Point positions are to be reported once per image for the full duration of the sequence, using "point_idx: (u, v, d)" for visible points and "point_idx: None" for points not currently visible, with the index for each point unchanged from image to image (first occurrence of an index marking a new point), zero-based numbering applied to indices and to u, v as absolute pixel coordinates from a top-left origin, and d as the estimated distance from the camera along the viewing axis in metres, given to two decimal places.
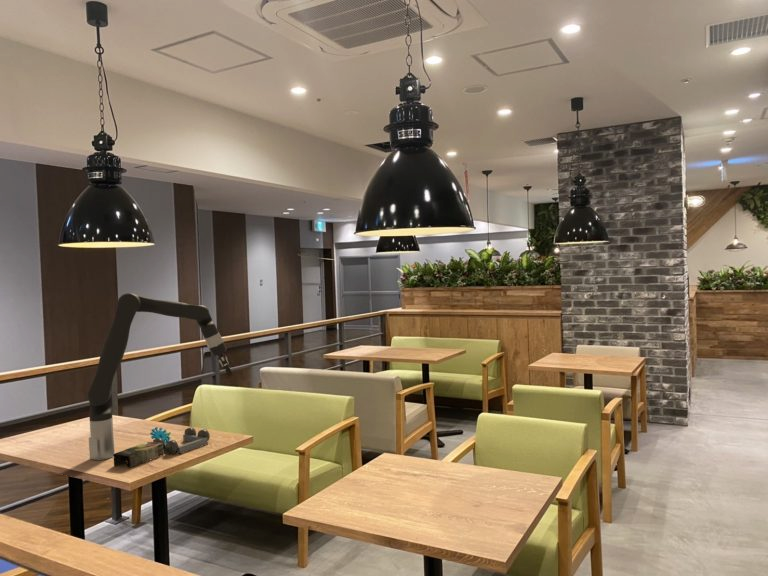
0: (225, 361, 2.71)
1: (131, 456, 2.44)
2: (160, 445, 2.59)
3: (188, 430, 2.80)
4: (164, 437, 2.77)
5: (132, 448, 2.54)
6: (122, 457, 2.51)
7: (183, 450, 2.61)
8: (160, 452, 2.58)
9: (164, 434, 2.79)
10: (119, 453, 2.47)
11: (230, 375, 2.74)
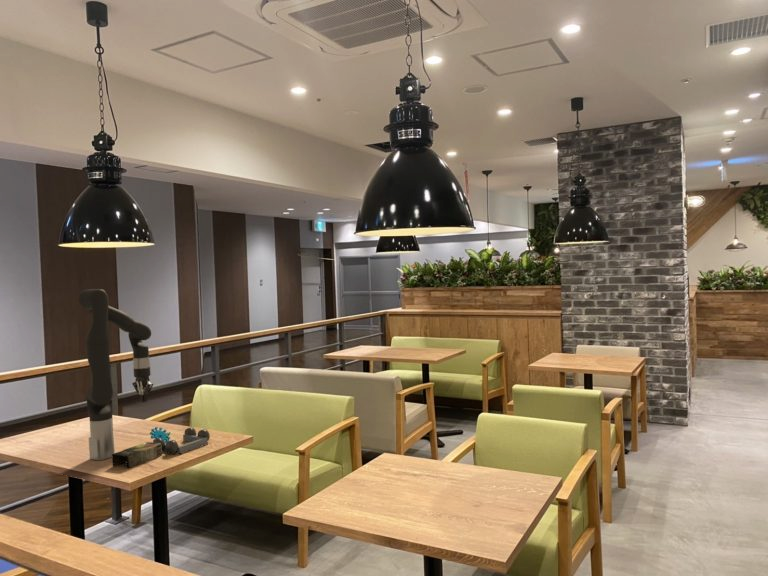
0: (150, 388, 2.81)
1: (130, 456, 2.44)
2: (159, 445, 2.58)
3: (188, 430, 2.80)
4: (164, 437, 2.78)
5: (131, 448, 2.53)
6: (121, 457, 2.51)
7: (183, 450, 2.61)
8: (159, 452, 2.58)
9: (164, 434, 2.79)
10: (118, 453, 2.46)
11: (144, 401, 2.82)
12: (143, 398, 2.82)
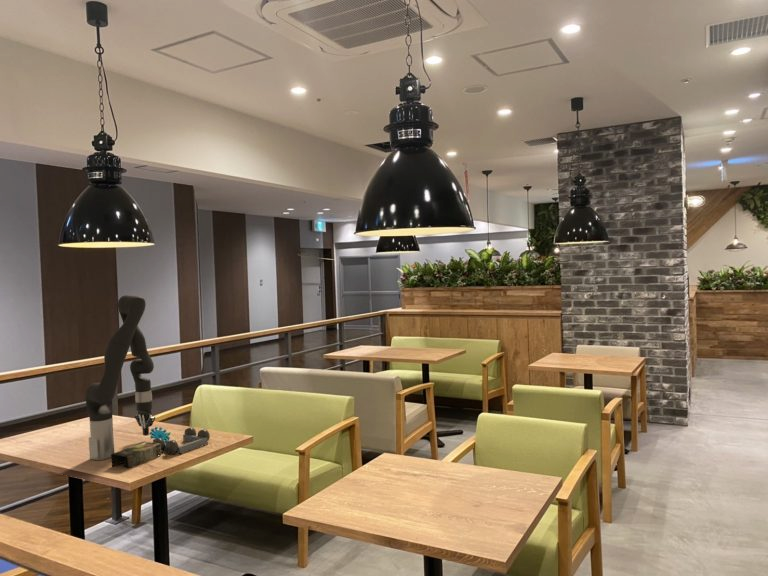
0: (152, 422, 2.81)
1: (129, 456, 2.44)
2: (158, 445, 2.58)
3: (188, 430, 2.80)
4: (163, 437, 2.78)
5: (130, 448, 2.53)
6: (120, 457, 2.51)
7: (183, 450, 2.61)
8: (158, 452, 2.58)
9: (164, 434, 2.79)
10: (117, 453, 2.46)
11: (146, 434, 2.83)
12: (145, 431, 2.82)
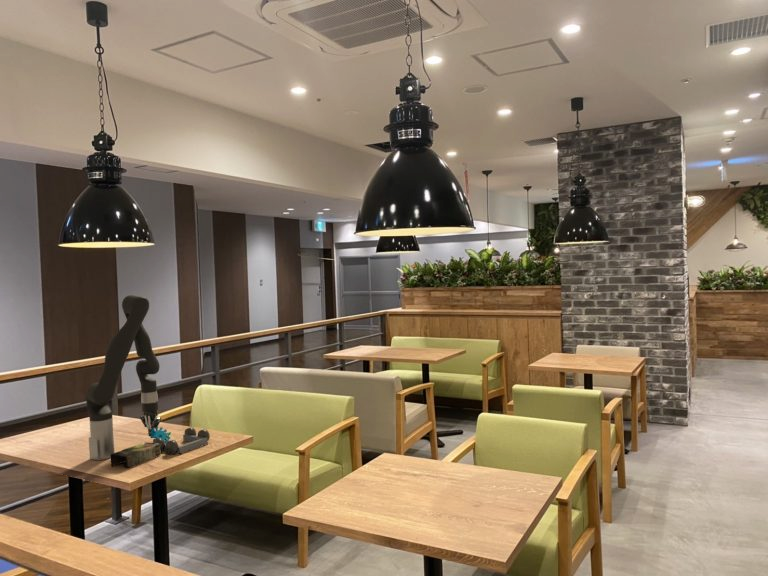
0: (158, 422, 2.79)
1: (128, 456, 2.44)
2: (157, 445, 2.58)
3: (188, 430, 2.80)
4: (164, 437, 2.78)
5: (129, 448, 2.53)
6: (119, 457, 2.51)
7: (183, 450, 2.61)
8: (157, 452, 2.58)
9: (164, 434, 2.79)
10: (116, 453, 2.46)
11: None
12: None
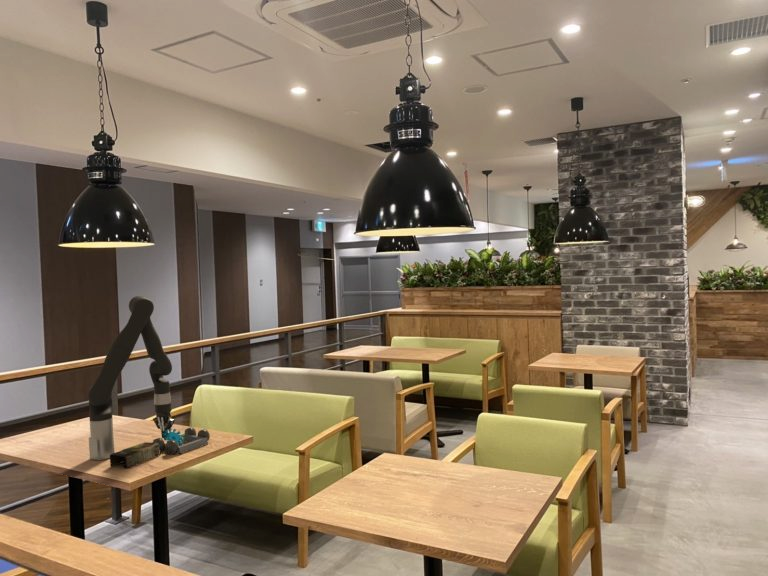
0: (171, 424, 2.75)
1: (127, 457, 2.43)
2: (156, 445, 2.58)
3: (188, 430, 2.80)
4: (177, 439, 2.73)
5: (128, 449, 2.53)
6: (118, 458, 2.51)
7: (183, 450, 2.61)
8: (156, 452, 2.58)
9: (177, 436, 2.75)
10: (115, 454, 2.46)
11: None
12: None
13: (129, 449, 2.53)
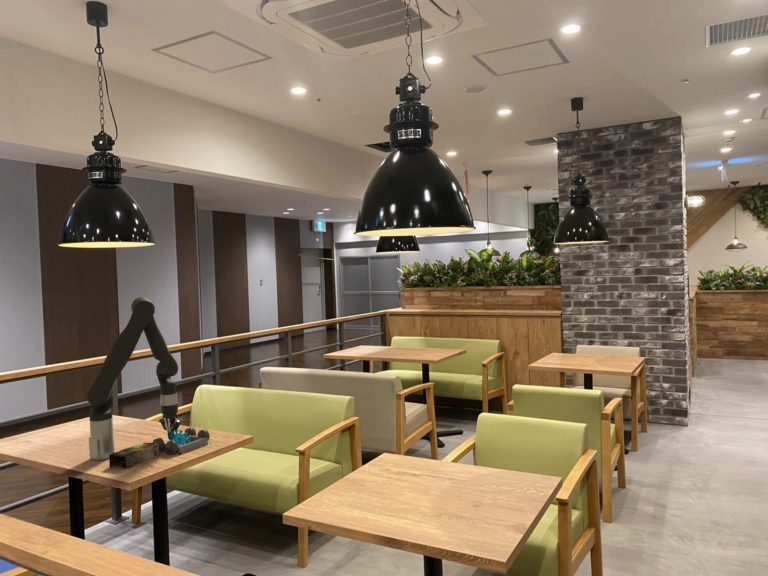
0: (178, 425, 2.72)
1: (127, 457, 2.43)
2: (156, 446, 2.58)
3: (188, 430, 2.80)
4: (183, 440, 2.71)
5: (128, 449, 2.53)
6: (118, 458, 2.50)
7: (183, 450, 2.61)
8: (156, 453, 2.58)
9: (184, 437, 2.72)
10: (115, 454, 2.46)
11: (172, 438, 2.74)
12: None
13: (128, 449, 2.52)
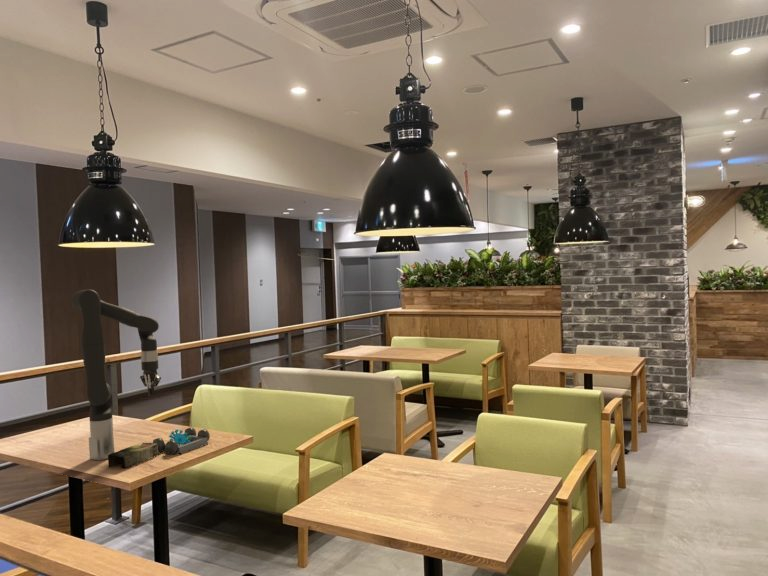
0: (158, 382, 2.77)
1: (126, 457, 2.43)
2: (155, 446, 2.58)
3: (188, 430, 2.80)
4: (183, 440, 2.71)
5: (127, 449, 2.53)
6: (116, 458, 2.50)
7: (183, 450, 2.61)
8: (155, 453, 2.58)
9: (184, 437, 2.72)
10: (114, 454, 2.46)
11: (152, 395, 2.79)
12: None
13: (127, 449, 2.52)
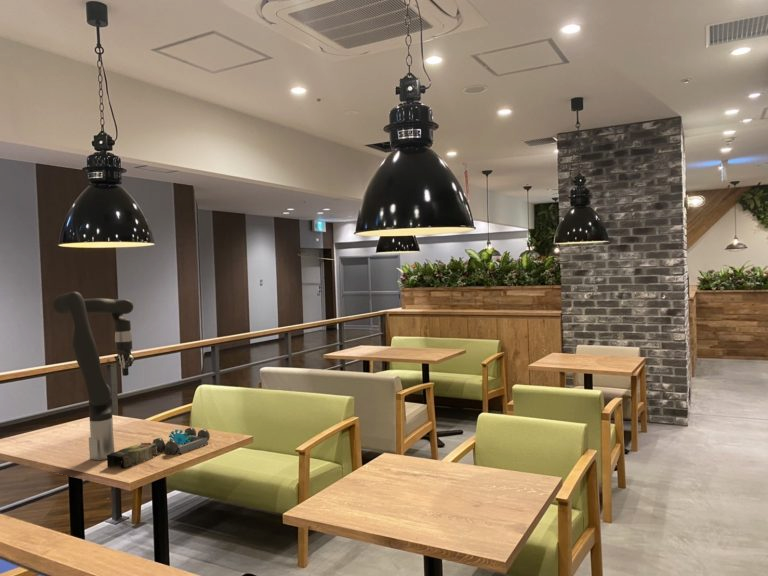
0: (132, 362, 2.82)
1: (125, 457, 2.43)
2: (154, 446, 2.58)
3: (188, 430, 2.80)
4: (183, 440, 2.71)
5: (125, 449, 2.53)
6: (115, 458, 2.50)
7: (183, 450, 2.61)
8: (154, 453, 2.58)
9: (184, 437, 2.72)
10: (113, 454, 2.46)
11: (126, 374, 2.84)
12: (125, 371, 2.83)
13: (126, 449, 2.52)
